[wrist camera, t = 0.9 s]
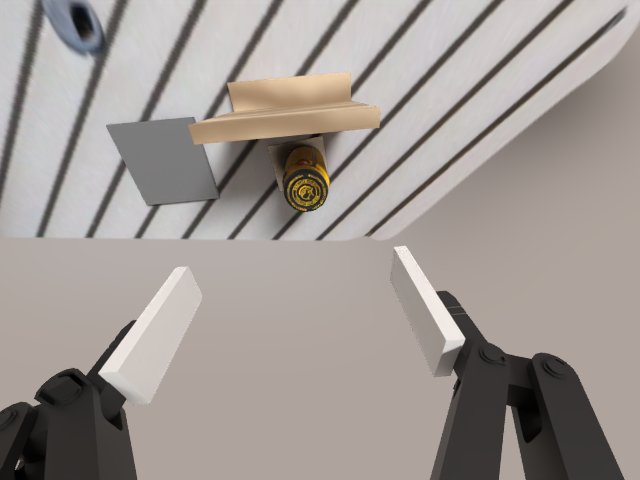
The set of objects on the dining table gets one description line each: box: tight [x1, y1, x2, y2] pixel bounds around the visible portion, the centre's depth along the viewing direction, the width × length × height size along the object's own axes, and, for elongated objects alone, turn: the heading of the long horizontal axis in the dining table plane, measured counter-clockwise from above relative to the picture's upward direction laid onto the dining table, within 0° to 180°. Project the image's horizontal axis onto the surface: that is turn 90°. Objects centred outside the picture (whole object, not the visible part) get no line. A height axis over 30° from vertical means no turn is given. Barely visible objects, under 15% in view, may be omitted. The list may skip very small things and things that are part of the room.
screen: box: [188, 72, 380, 145], centre depth 26 cm, size 5×16×16 cm, turn 94°
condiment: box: [268, 136, 330, 212], centre depth 32 cm, size 7×8×12 cm
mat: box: [106, 117, 220, 205], centre depth 36 cm, size 12×12×1 cm
